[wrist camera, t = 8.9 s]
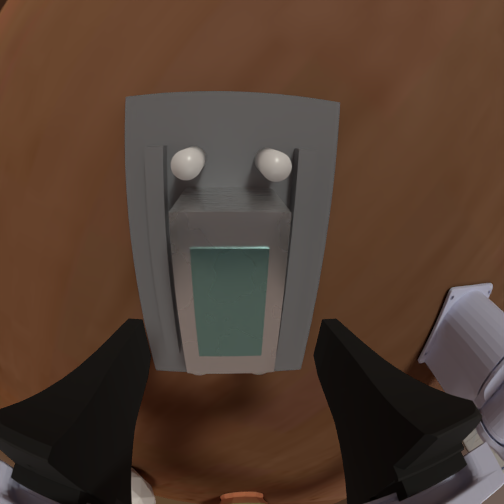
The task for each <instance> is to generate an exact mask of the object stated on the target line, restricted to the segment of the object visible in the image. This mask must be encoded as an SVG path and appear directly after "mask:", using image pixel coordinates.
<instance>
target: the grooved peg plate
mask: <svg viewBox="0 0 504 504" xmlns="http://www.w3.org/2000/svg"><path fill="white" fill-rule="evenodd" d="M339 111H340V103H339V102H333V101H327V100H321V99H314V98H307V97H299V96H290V95H281V94H269V93H254V92H230V91H198V92H174V93H159V94H148V95H138V96H130V97H126V105H125V168H126V188H127V203H128V215H129V225H130V235H131V243H132V251H133V258H134V265H135V272H136V278H137V285H138V290H139V296H140V301H141V307H142V312H143V317H144V322H145V326H146V331H147V335H148V340H149V344H150V348H151V352H152V356H153V360H154V364H155V368H156V370H162V371H180V372H187V369H186V363H185V357H184V351H183V344H182V338H181V331H180V324H179V317H178V309H177V301H176V293H175V284H174V274H173V264H172V252H171V240H170V226H169V211H170V210H171V208H172V207H173V205H174V204H175V202H176V201H177V200H178V198H179V197H180V195H181V194H182V192H183V191H184V190H185V188H186V187H253V188H272V189H273V190H274V191H275V192H276V194H277V195H278V196H279V197H280V199H281V200H282V201H283V203H284V204H285V205H286V206H287V208H288V209H289V210H290V212H291V224H290V236H289V246H288V257H287V266H286V276H285V285H284V294H283V303H282V312H281V320H280V328H279V336H278V344H277V352H276V359H275V367H274V371H283V370H296V369H301V365H302V361H303V357H304V353H305V348H306V344H307V339H308V335H309V330H310V325H311V321H312V316H313V311H314V306H315V301H316V295H317V290H318V285H319V279H320V273H321V268H322V262H323V255H324V249H325V243H326V236H327V229H328V222H329V215H330V207H331V199H332V191H333V182H334V173H335V163H336V152H337V140H338V127H339ZM265 373H267V372H262V373H253V374H256V375H262V374H265ZM192 374H194V375H204V374H205V373H192Z"/></svg>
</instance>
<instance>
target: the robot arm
mask: <svg viewBox="0 0 504 504" xmlns="http://www.w3.org/2000/svg"><path fill="white" fill-rule="evenodd" d="M492 288H493V284H492V283H485V284H477V285H469V286H460V287H452V288H451V289H450V290H449V292H448V294H447V297H446V299H445V302H444V305H443V307H442V309H441V312H440V314H439V316H438V319H437V321H436V323H435V326H434V328H433V330H432V332H431V334H430V336H429V338H428V341H427V343H426V345H425V347H424V349H423V351H422V353H421V355H420V356H419V358H418V362H419V363H424V362H425V363H426V364H427V366H428V367H429V369H430V370H431V372H432V373H433V374H434V376H435V377H436V379H437V380H438V382H439V383H440V385H441V386H442V388H443V389H444V391H445V392H446V393H445V392H442V391H440V390H437V389H435V388H432V387H430V386H428V385H426V384H424V383H422V382H420V381H418V380H416V379H414V378H412V377H410V376H409V375H407V374H405V373H404V372H402V371H401V370H399V369H397V368H396V367H394V366H393V365H391V364H390V363H388V362H387V361H386V360H384V359H383V358H382V357H380V356H379V355H378V354H377V353H375V352H374V351H373V350H372V349H370V348H369V347H368V346H367V345H366V344H364V343H363V342H362V341H361V340H360V339H359V338H358V337H356V336H355V335H354V334H353V333H352V332H351V331H350V330H349V329H347V328H346V327H345V326H344V325H343V324H342V323H341V322H339V321H338V320H337V319H323V320H322V323H321V327H320V331H319V335H318V339H317V343H316V347H315V351H314V360H315V365H316V369H317V374H318V377H319V380H320V383H321V386H322V388H323V391H324V394H325V397H326V399H327V402H328V405H329V407H330V410H331V413H332V416H333V419H334V422H335V425H336V430H337V434H338V439H339V443H340V448H341V454H342V460H343V466H344V473H345V482H346V493H347V504H481V503H482V502H484V501H485V500H486V499H487V498H488V497H489V496H491V495H492V494H493V493H494V492H495V491H497V490H498V489H499V488H500V487H501V486H502V485H503V484H504V473H503V471H502V469H501V467H500V465H499V464H498V462H497V460H496V458H495V456H494V454H493V452H492V451H491V449H493V450H494V451H495V452H496V453H497V454H498V456H499V457H500V458H501V459H502V460H503V461H504V312H503V311H502V310H501V309H500V308H498V307H497V306H496V305H495V304H494V303H493V302H492V301H491V300H490V299H488V298H489V295H490V293H491V291H492ZM150 360H151V354H150V350H149V346H148V341H147V337H146V333H145V328H144V324H143V320H141V319H128V320H127V321H126V322H125V323H124V324H123V325H122V326H121V327H120V328H119V329H118V330H117V331H116V332H115V333H114V334H113V335H112V336H111V337H110V338H109V339H108V340H107V341H106V342H105V343H104V344H103V345H102V346H101V347H100V348H99V349H98V350H97V351H96V352H94V353H93V354H92V355H91V356H90V357H89V358H88V359H87V360H86V361H84V362H83V363H82V364H81V365H80V366H79V367H77V368H76V369H75V370H74V371H72V372H71V373H70V374H68V375H67V376H65V377H64V378H63V379H61V380H60V381H58V382H56V383H55V384H53V385H52V386H50V387H48V388H47V389H45V390H43V391H42V392H40V393H38V394H36V395H34V396H32V397H30V398H28V399H25V400H23V401H21V402H18V403H16V404H13V405H10V406H7V407H5V408H1V409H0V450H1V451H2V452H4V453H5V454H6V455H7V456H8V457H9V458H10V459H11V460H13V461H14V462H15V465H14V468H13V467H11V466H10V465H8V464H7V463H5V462H3V461H2V460H0V504H132V494H131V465H132V449H133V439H134V431H135V425H136V420H137V416H138V412H139V408H140V405H141V401H142V397H143V394H144V390H145V386H146V383H147V379H148V374H149V367H150ZM476 406H477V407H476ZM475 428H476V431H477V433H478V435H479V437H480V438H481V440H482V441H483V442H484V443H482V444H481V445H479V446H478V447H476V448H474V449H473V450H471V451H470V452H468V453H467V454H466V455H464V456H463V455H462V453H461V451H462V450H463V449H464V446H463V444H462V441H463V440H464V439H465V438H466V437H467V436H468V435H469V434H470V433H471V432H472V431H473V430H474V429H475ZM490 448H491V449H490Z"/></svg>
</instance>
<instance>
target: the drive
mask: <svg viewBox="0 0 504 504" xmlns="http://www.w3.org/2000/svg"><path fill="white" fill-rule="evenodd" d="M290 224H291V212H290V210H289V209H288V208H287V206H286V205H285V204H284V203H283V201H282V200H281V199H280V197H279V196H278V195H277V194H276V192H275V191H274V190H273V189H272V188H253V187H186V188H185V190H184V191H183V192H182V194H181V195H180V197H179V198H178V200H177V201H176V202H175V204H174V205H173V207H172V208H171V210H170V211H169V226H170V240H171V252H172V264H173V274H174V284H175V293H176V301H177V309H178V317H179V324H180V331H181V338H182V344H183V351H184V357H185V363H186V369H187V373H205V374H230V373H262V372H274V367H275V359H276V352H277V344H278V336H279V328H280V320H281V312H282V303H283V294H284V285H285V276H286V266H287V257H288V246H289V236H290Z"/></svg>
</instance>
